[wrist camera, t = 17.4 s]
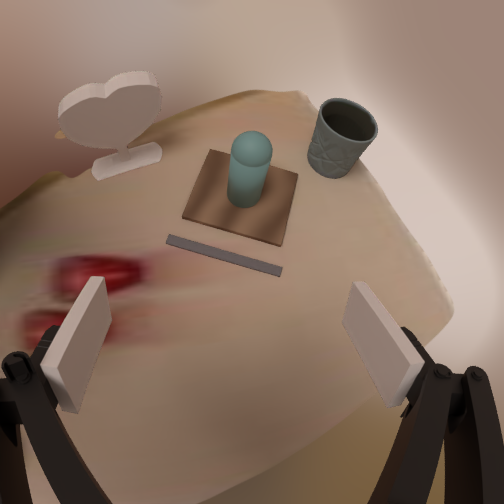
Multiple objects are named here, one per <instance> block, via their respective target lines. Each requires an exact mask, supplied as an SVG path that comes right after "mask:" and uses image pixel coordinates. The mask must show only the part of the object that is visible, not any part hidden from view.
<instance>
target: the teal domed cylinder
mask: <svg viewBox="0 0 504 504" xmlns="http://www.w3.org/2000/svg"><path fill="white" fill-rule="evenodd" d="M271 157H272V145H271V142H270V141H269V139H268V138H267V137H266V136H265V135H264V134H262V133H260V132H257V131H247V132H244V133H242V134H240V135H239V136H238V137H237V138H236V139H235V140H234V142H233V144H232V148H231V157H230V166H229V175H228V184H227V197H228V199H229V201H230V202H231V203H232V204H233V205H235V206H237V207H240V208H249V207H252V206H254V205H255V204H256V203H257V202H258V201H259V199H260V196H261V192H262V189H263V185H264V182H265V178H266V175H267V171H268V168H269V164H270V161H271Z"/></svg>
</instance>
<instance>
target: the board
mask: <svg viewBox="0 0 504 504" xmlns="http://www.w3.org/2000/svg"><path fill="white" fill-rule="evenodd" d="M230 157H231V154H227V153H224V152H220V151H216V150H212V149H210V151H209V153H208V155H207V157H206V160H205V162H204V164H203V166H202V169H201V171H200V173H199V176H198V178H197V181H196V183H195V185H194V188H193V190H192V192H191V195H190V197H189V200H188V202H187V205H186V207H185V210H184V212H183V215H182V219H186V220H189V221H193V222H196V223H200V224H203V225H207V226H210V227H214V228H217V229H221V230H224V231H227V232H231V233H234V234H238V235H241V236H245V237H248V238H251V239H255V240H258V241H262V242H265V243H268V244H272V245H275V246H279V247H280V246H281V244H282V240H283V236H284V231H285V227H286V223H287V219H288V215H289V210H290V206H291V202H292V198H293V193H294V189H295V185H296V180H297V176H298V174H297V173H293V172H290V171H287V170H284V169H280V168H277V167H274V166H270V165H269V168H268V171H267V175H266V178H265V182H264V185H263V189H262V192H261V196H260V199H259V201H258V202H257V203H256V204H255V205H254V206H252V207H249V208H240V207H237V206H235V205H233V204H232V203H231V202H230V201H229V199H228V197H227V184H228V175H229V166H230Z"/></svg>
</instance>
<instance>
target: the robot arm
mask: <svg viewBox="0 0 504 504" xmlns="http://www.w3.org/2000/svg"><path fill="white" fill-rule="evenodd" d="M111 321H112V318H111V313H110V307H109V302H108V296H107V290H106V284H105V278H104V277H98V276H91V277H90V279H89V280H88V282H87V283H86V285H85V287H84V288H83V290H82V291H81V293H80V295H79V296H78V298H77V300H76V301H75V303H74V305H73V306H72V308H71V310H70V311H69V313H68V315H67V316H66V318H65V320H64V322H63V323H62V325H61V326H56V325H53V326H51V327H50V328H49V329H48V330H47V331H45V333H44V335H43V336H42V338H41V341H40V342H39V343H38V346H37V347H36V348H35V350H34V352H33V354H32V356H31V357H29V356H28V354H26V353H24V352H20V351H17V352H12V353H11V354H9V355H7V356H6V357H5V358H4V359H3V362H2V370H3V372H4V374H5V376H6V377H7V378H1V379H0V504H33V502H32V498H31V494H30V489H29V485H28V480H27V474H26V469H25V463H24V456H23V449H22V442H21V433H20V424H23V425H24V427H25V430H26V433H27V435H28V438H29V440H30V442H31V445H32V447H33V450H34V452H35V454H36V456H37V459H38V461H39V463H40V465H41V467H42V469H43V471H44V473H45V475H46V477H47V479H48V481H49V483H50V485H51V487H52V489H53V491H54V493H55V494H56V496H57V498H58V500H59V502H60V503H61V504H112V502H111V501H110V500H109V498H108V497H107V495H106V494H105V493H104V491H103V490H102V488H101V487H100V485H99V484H98V482H97V481H96V479H95V478H94V476H93V475H92V473H91V472H90V470H89V469H88V467H87V466H86V464H85V462H84V461H83V459H82V457H81V456H80V454H79V452H78V451H77V449H76V447H75V445H74V444H73V442H72V440H71V438H70V436H69V435H68V433H67V431H66V429H65V427H64V425H63V423H62V421H61V419H60V417H59V415H58V413H57V412H56V410H55V409H56V407H57V404H58V403H59V405H60V407H61V409H62V411H66V412H71V413H77V414H78V413H79V410H80V407H81V404H82V400H83V397H84V394H85V391H86V388H87V385H88V382H89V380H90V377H91V374H92V371H93V368H94V365H95V363H96V360H97V357H98V355H99V352H100V349H101V347H102V344H103V341H104V339H105V336H106V334H107V331H108V329H109V326H110V324H111ZM342 324H343V325H344V327H345V329H346V331H347V333H348V335H349V336H350V338H351V340H352V342H353V344H354V346H355V347H356V349H357V351H358V353H359V355H360V357H361V359H362V361H363V363H364V364H365V366H366V368H367V370H368V372H369V374H370V376H371V378H372V380H373V382H374V384H375V385H376V387H377V389H378V391H379V393H380V395H381V397H382V399H383V401H384V403H385V405H386V407H387V408H390V407H394V406H399V405H401V404H402V402H403V401H404V399H405V397H407V399H408V401H409V404H408V405H407V407H406V408H405V410H404V412H403V413H402V415H401V416H400V417H403V419H402V422H401V425H400V427H399V430H398V433H397V436H396V439H395V441H394V444H393V447H392V449H391V452H390V454H389V457H388V459H387V462H386V464H385V466H384V469H383V471H382V473H381V476H380V478H379V480H378V482H377V485H376V487H375V489H374V491H373V493H372V496H371V497H370V500H369V502H368V503H367V504H426V502H427V499H428V496H429V493H430V489H431V486H432V483H433V479H434V476H435V472H436V468H437V464H438V460H439V456H440V452H441V448H442V444H443V439H444V451H445V499H444V500H445V501H444V504H504V444H503V439H502V434H501V428H500V423H499V419H498V414H497V410H496V405H495V402H494V397H493V394H492V390H491V386H490V383H489V379H488V376H487V374H486V372H485V371H484V370H483V369H481V368H479V367H476V366H470V367H468V368H467V370H466V371H465V373H464V374H455V373H452V371H451V370H450V369H449V368H448V367H447V366H444V365H442V364H435V362H434V361H433V360H432V358H431V357H430V356H429V354H428V353H427V352H426V350H425V349H424V347H423V346H421V343H420V342H419V341H417V338H416V337H415V335H414V334H413V333H412V332H411V331H410V330H408V329H407V328H405V327H399V326H398V324H397V323H396V321H395V320H394V319H393V317H392V316H391V315H390V313H389V312H388V311H387V310H386V308H385V307H384V306H383V304H382V303H381V302H380V300H379V299H378V298H377V296H376V295H375V294H374V293H373V291H372V290H371V289H370V287H369V286H368V285H367V284H366V282H352V286H351V290H350V294H349V298H348V302H347V305H346V309H345V313H344V316H343V320H342Z"/></svg>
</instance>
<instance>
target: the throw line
mask: <svg viewBox="0 0 504 504" xmlns="http://www.w3.org/2000/svg"><path fill="white" fill-rule="evenodd" d="M166 244H169V245H173V246H176V247H179V248H183V249H186V250H189V251H193V252H196V253H199V254H203V255H206V256H209V257H213V258H216V259H220V260H223V261H226V262H230V263H233V264H237V265H240V266H243V267H247V268H250V269H254V270H257V271H261V272H264V273H268V274H271V275H275V276H278V277H280V274H281V270H282V267H280V266H276V265H273V264H269V263H266V262H262V261H259V260H256V259H252V258H249V257H245V256H242V255H238V254H235V253H232V252H228V251H225V250H221V249H218V248H215V247H211V246H208V245H204V244H201V243H198V242H194V241H191V240H187V239H184V238H181V237H177V236H174V235H170V234H169V235H168V238H167V241H166Z"/></svg>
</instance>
